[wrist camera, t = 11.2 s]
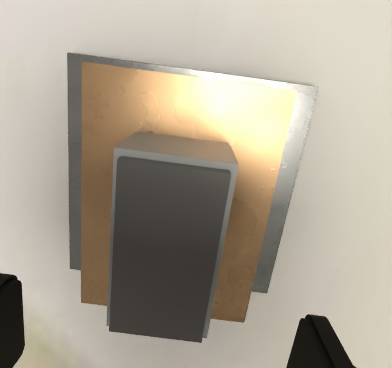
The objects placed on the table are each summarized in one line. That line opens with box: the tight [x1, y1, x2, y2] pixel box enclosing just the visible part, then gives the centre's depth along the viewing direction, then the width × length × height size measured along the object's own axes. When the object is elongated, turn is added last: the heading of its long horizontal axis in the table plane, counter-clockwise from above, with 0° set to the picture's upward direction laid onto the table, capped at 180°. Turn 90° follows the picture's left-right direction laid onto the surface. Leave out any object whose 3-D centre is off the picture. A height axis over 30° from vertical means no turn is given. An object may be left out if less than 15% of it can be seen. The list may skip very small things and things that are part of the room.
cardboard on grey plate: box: [67, 53, 319, 323], centre depth 20 cm, size 16×16×5 cm
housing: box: [107, 131, 239, 343], centre depth 15 cm, size 5×9×5 cm, turn 172°
